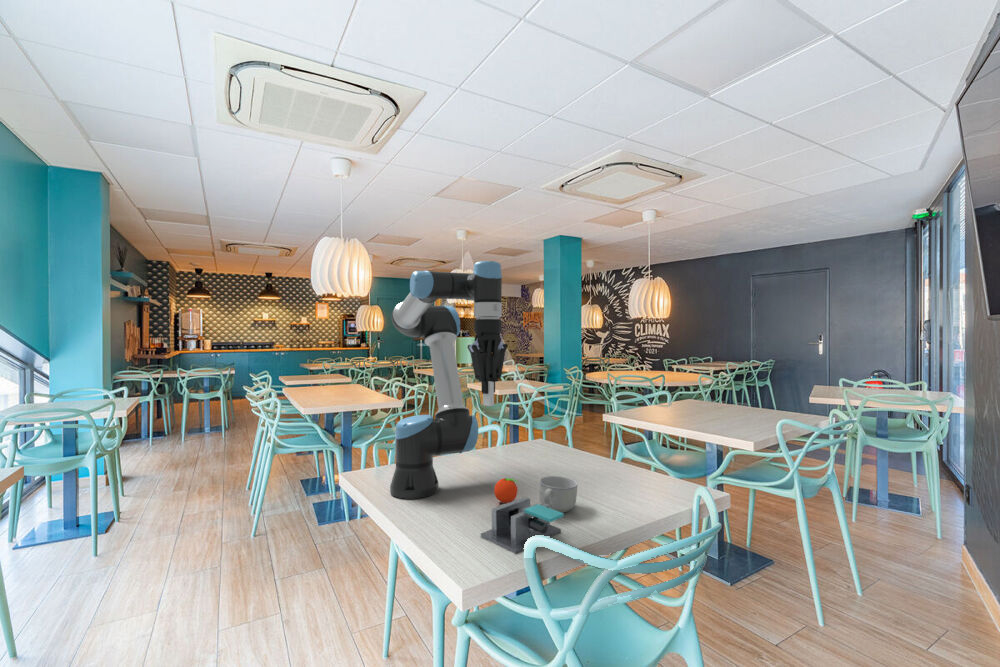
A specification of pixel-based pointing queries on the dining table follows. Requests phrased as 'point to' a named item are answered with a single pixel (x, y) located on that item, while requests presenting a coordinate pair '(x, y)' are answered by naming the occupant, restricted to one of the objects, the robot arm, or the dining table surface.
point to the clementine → (506, 490)
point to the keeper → (543, 512)
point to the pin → (532, 523)
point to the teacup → (558, 492)
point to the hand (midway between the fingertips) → (488, 405)
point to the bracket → (514, 526)
